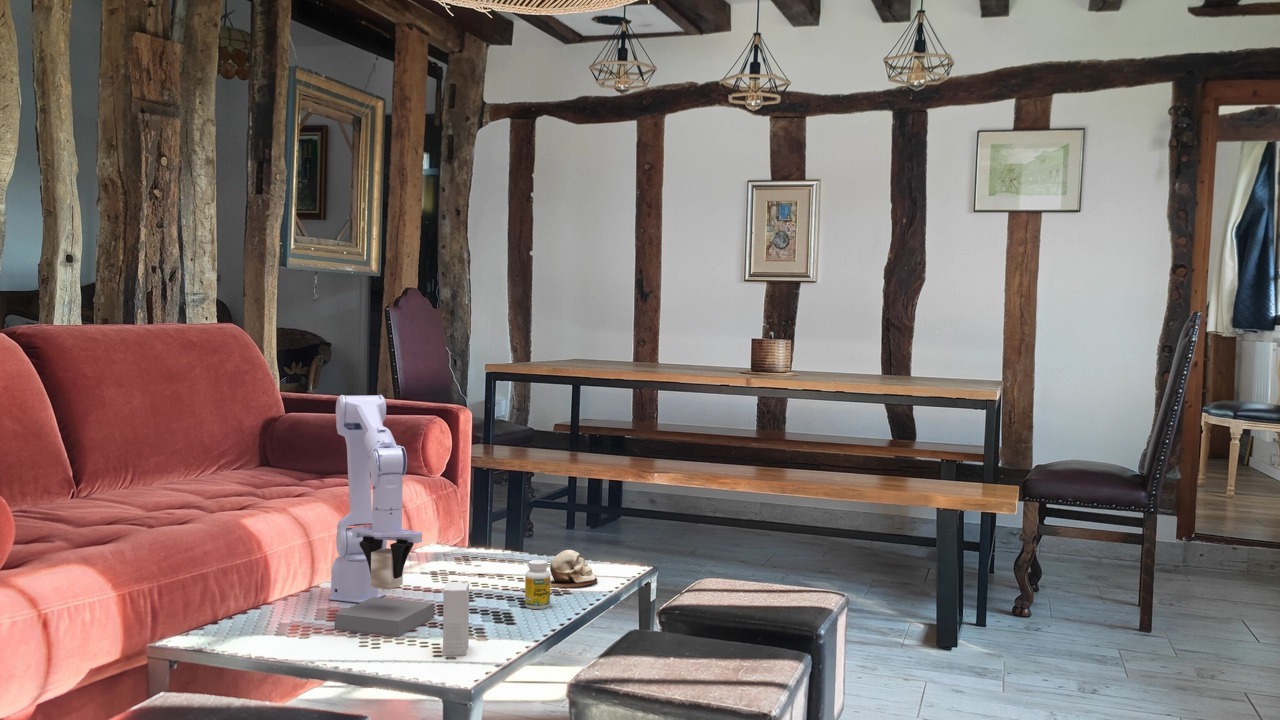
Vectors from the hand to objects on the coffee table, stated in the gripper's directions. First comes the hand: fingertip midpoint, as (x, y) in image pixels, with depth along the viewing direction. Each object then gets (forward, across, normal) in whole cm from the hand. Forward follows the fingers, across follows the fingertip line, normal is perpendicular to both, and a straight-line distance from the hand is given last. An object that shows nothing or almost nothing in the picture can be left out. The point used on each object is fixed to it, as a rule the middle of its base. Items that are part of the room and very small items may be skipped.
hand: (386, 576), depth 203 cm
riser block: (+9, 0, 0) cm, 9 cm away
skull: (+10, +22, +46) cm, 52 cm away
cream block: (+2, 0, 0) cm, 2 cm away
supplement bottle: (+10, +23, +23) cm, 34 cm away
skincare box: (+10, +21, -11) cm, 26 cm away
